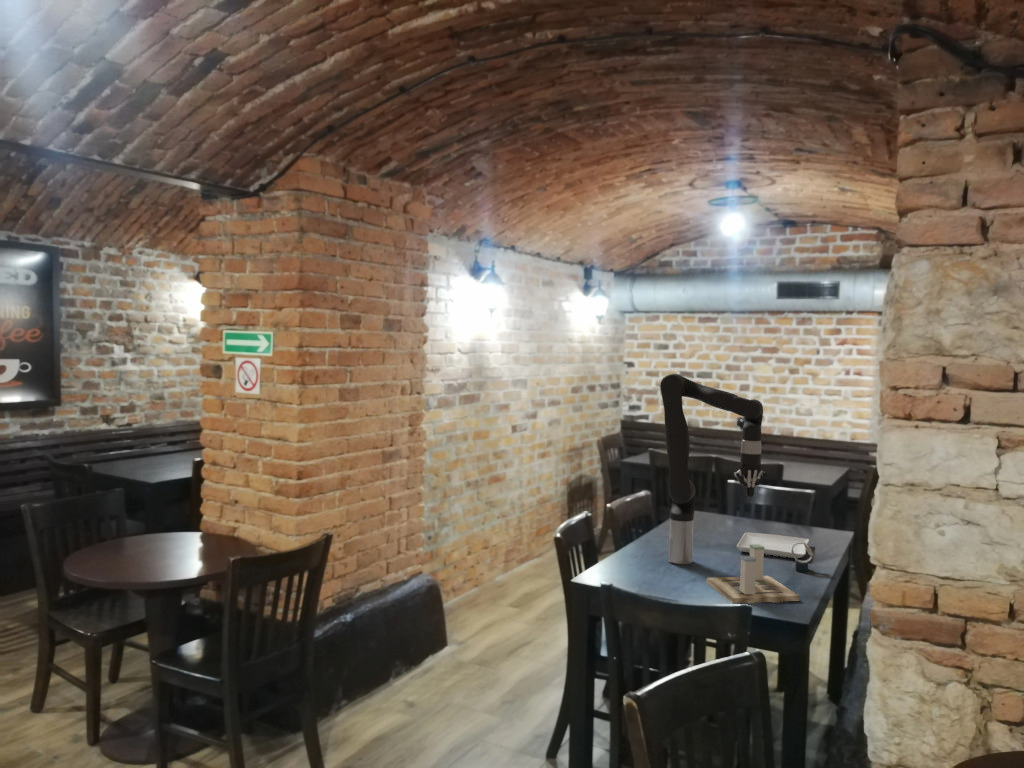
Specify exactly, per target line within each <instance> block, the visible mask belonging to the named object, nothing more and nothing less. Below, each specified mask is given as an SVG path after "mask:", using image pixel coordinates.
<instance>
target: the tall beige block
mask: <svg viewBox="0 0 1024 768" xmlns="http://www.w3.org/2000/svg"><path fill="white" fill-rule="evenodd" d="M749 556H752V557H754V558H755V559H756V566H755V580H763V578H764V577H763V576H764V557H765V555H764V547H763V546H762V545H760V544H752V545H750V553H749Z"/></svg>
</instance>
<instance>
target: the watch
mask: <svg viewBox="0 0 1024 768" xmlns="http://www.w3.org/2000/svg"><path fill="white" fill-rule="evenodd" d="M797 544H804V546H805V548H806V553H808V555H809V558H807V559H806V560H802V559H799V558H797V557H796V556H795V554H794V551H793V548H794V546H795V545H797ZM791 551H792V555H793V557H794V558H793V559H794V560H795V562H794V563H795V564H794V568H795V569H796V570H795V572H796V571H797V573H805V572H808V573H809V563H808V562H811V560H812V559H813V556H814V552H813V550H812V548H811V546H810V544H809V542H808V543H805V542H802V541H800V542H796V543H795V544H793V546H792V550H791Z"/></svg>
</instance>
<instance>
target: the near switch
mask: <svg viewBox="0 0 1024 768" xmlns="http://www.w3.org/2000/svg"><path fill="white" fill-rule="evenodd" d="M755 566H756V559H755V558H754V557H752V556H750V555H741V556H740V576H739V577H740V587H739V590H740V591H741V592H742V593H744V594H755Z"/></svg>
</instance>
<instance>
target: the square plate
mask: <svg viewBox="0 0 1024 768" xmlns="http://www.w3.org/2000/svg"><path fill="white" fill-rule="evenodd" d="M800 541H802V542H805V543H808V544H809V542H810V539H809V538H801V537H795V536H789V535H788V536H787V535H779V534H771V533H770V534H769V533H757V532H748V531H747V532H744V534H743V535H742V537H741V538H740V540H739V541H738V543H737V545H736V548H737V550H739V551H740V552H744V553H749V554H750V545H752V544H760V545H762V546H763V547H764V554H765V555H764V556H770V555H773V556H772V557H778V556H780V557H779V558H786V557H788V558H787V559H794V557H793V555H792V551H791V550H792V546H793V544H795V543H796V542H800ZM793 551H794V554H795V556H796V557H797V559H800V558H803V557H804V556H805V555H806V554H807V550H806V548H805V546H804V544H797V545H795V546H794V548H793Z"/></svg>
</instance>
